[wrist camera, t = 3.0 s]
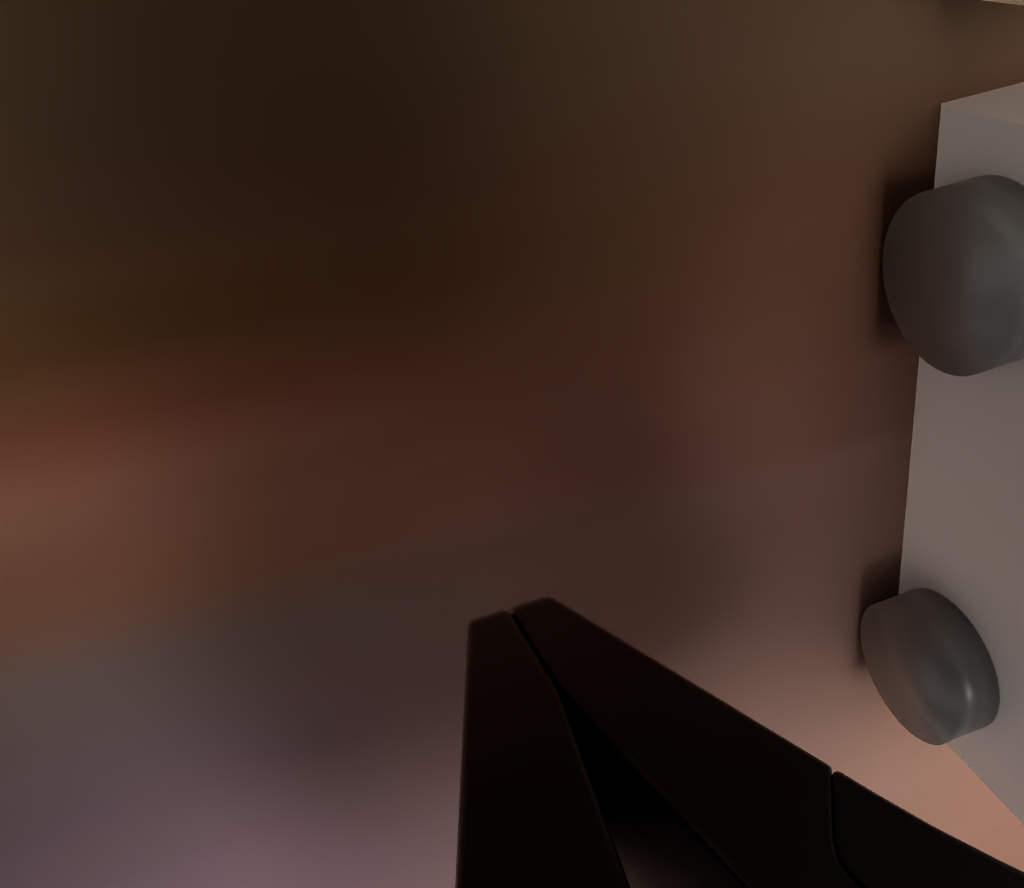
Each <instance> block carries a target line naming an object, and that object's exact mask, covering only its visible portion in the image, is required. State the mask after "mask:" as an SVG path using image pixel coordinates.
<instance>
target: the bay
mask: <svg viewBox="0 0 1024 888" xmlns="http://www.w3.org/2000/svg"><path fill="white" fill-rule="evenodd" d="M984 1H992V2H1000V3H1008V4H1016V5H1024V0H984Z"/></svg>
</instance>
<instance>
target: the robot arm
mask: <svg viewBox="0 0 1024 888" xmlns="http://www.w3.org/2000/svg"><path fill="white" fill-rule="evenodd" d="M455 888H1024V872H1022V871H1020V870H1018V869H1016V868H1014V867H1012V866H1010V865H1008V864H1006V863H1004V862H1002V861H1000V860H997V859H996V858H994V857H992V856H990V855H988V854H986V853H984V852H982V851H980V850H978V849H976V848H974V847H972V846H970V845H968V844H966V843H964V842H962V841H961V840H959V839H957V838H955V837H953V836H951V835H949V834H947V833H945V832H943V831H941V830H939V829H937V828H935V827H933V826H931V825H930V824H928V823H926V822H924V821H923V820H921V819H919V818H917V817H916V816H914V815H912V814H910V813H909V812H907V811H905V810H904V809H902V808H900V807H898V806H897V805H895V804H893V803H891V802H890V801H888V800H886V799H884V798H883V797H881V796H879V795H877V794H876V793H874V792H872V791H871V790H869V789H867V788H866V787H864V786H862V785H861V784H859V783H857V782H856V781H854V780H853V779H851V778H849V777H848V776H846V775H844V774H843V773H841V772H839V771H836V772H834V773H833V774H832V769H831V767H830V766H829V765H827V764H826V763H824V762H822V761H821V760H819V759H817V758H816V757H814V756H812V755H811V754H809V753H807V752H806V751H804V750H803V749H801V748H799V747H798V746H796V745H794V744H793V743H791V742H789V741H788V740H786V739H784V738H783V737H781V736H779V735H778V734H776V733H775V732H773V731H771V730H770V729H768V728H766V727H765V726H763V725H761V724H760V723H758V722H756V721H755V720H753V719H752V718H750V717H748V716H747V715H745V714H743V713H742V712H740V711H738V710H737V709H735V708H733V707H732V706H730V705H728V704H727V703H725V702H724V701H722V700H720V699H719V698H717V697H715V696H714V695H712V694H710V693H709V692H707V691H705V690H704V689H702V688H700V687H699V686H697V685H696V684H694V683H692V682H691V681H689V680H687V679H686V678H684V677H682V676H681V675H679V674H677V673H676V672H674V671H673V670H671V669H669V668H668V667H666V666H664V665H663V664H661V663H659V662H658V661H656V660H654V659H653V658H651V657H649V656H648V655H646V654H645V653H643V652H641V651H640V650H638V649H636V648H635V647H633V646H631V645H630V644H628V643H626V642H625V641H623V640H622V639H620V638H618V637H617V636H615V635H613V634H612V633H610V632H608V631H607V630H605V629H603V628H602V627H600V626H598V625H597V624H595V623H594V622H592V621H590V620H589V619H587V618H585V617H584V616H582V615H580V614H579V613H577V612H575V611H574V610H572V609H571V608H569V607H567V606H566V605H564V604H562V603H561V602H559V601H557V600H556V599H554V598H551V597H542V598H539V599H536V600H532V601H529V602H526V603H523V604H520V605H516V606H515V607H513V609H512V610H511V613H509V612H508V611H505V610H501V611H497V612H494V613H491V614H488V615H485V616H481V617H478V618H475V619H473V620H471V621H470V622H469V625H468V633H467V654H466V675H465V696H464V717H463V738H462V758H461V779H460V800H459V821H458V842H457V863H456V883H455Z"/></svg>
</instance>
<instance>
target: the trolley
mask: <svg viewBox="0 0 1024 888" xmlns="http://www.w3.org/2000/svg"><path fill="white" fill-rule="evenodd" d="M883 279H884V285H885V291H886V295H887V299H888V303H889V306H890V309H891V312H892V314H893V317H894V319H895V321H896V323H897V325H898V327H899V329H900V331H901V333H902V334H903V336H904V338H905V339H906V341H907V342H908V343H909V345H910V346H911V347H912V349H913V350H914V351H915V352H916V353H917V354H918V355H919V365H918V377H917V388H916V399H915V411H914V422H913V434H912V445H911V456H910V468H909V479H908V491H907V502H906V513H905V525H904V536H903V548H902V559H901V570H900V582H899V593H898V595H897V596H894V597H892V598H889V599H886V600H884V601H881V602H878V603H876V604H873V605H871V606H869V607H868V608H867V609H866V611H865V612H864V614H863V617H862V620H861V627H860V636H861V645H862V650H863V654H864V658H865V661H866V665H867V667H868V670H869V673H870V675H871V678H872V680H873V682H874V684H875V686H876V688H877V690H878V692H879V694H880V695H881V697H882V699H883V700H884V702H885V703H886V705H887V706H888V708H889V709H890V711H891V712H892V713H893V715H894V716H895V717H896V718H897V719H898V721H899V722H900V723H901V724H902V725H903V726H904V727H905V728H906V729H907V730H908V731H909V732H911V733H912V734H913V735H914V736H916V737H917V738H919V739H920V740H922V741H924V742H926V743H929V744H933V745H941V744H944V743H947V744H948V745H949V746H950V747H951V748H952V749H953V751H954V752H955V753H956V754H957V755H958V756H959V757H960V758H961V759H962V760H963V761H964V762H965V763H966V764H967V765H968V766H969V767H970V768H971V769H972V771H973V772H974V773H975V774H976V775H977V776H978V777H979V778H980V779H981V780H982V781H983V782H984V783H985V784H986V785H987V786H988V787H989V788H990V789H991V790H992V792H993V793H994V794H995V795H996V796H997V797H998V798H999V799H1000V800H1001V801H1002V802H1003V803H1004V804H1005V805H1006V806H1007V807H1008V808H1009V809H1010V810H1011V812H1012V813H1013V814H1014V815H1015V816H1016V817H1017V818H1018V819H1019V820H1020V821H1021V822H1022V823H1023V824H1024V82H1022V83H1018V84H1014V85H1010V86H1006V87H1003V88H999V89H995V90H991V91H987V92H983V93H979V94H976V95H972V96H968V97H964V98H960V99H956V100H952V101H949V102H945V103H941V114H940V126H939V137H938V148H937V160H936V171H935V183H934V189H931V190H927V191H924V192H921V193H918V194H916V195H914V196H912V197H911V198H909V199H908V200H907V201H906V202H904V203H903V204H902V206H901V207H900V208H899V209H898V210H897V212H896V214H895V215H894V217H893V219H892V221H891V223H890V225H889V228H888V231H887V234H886V238H885V243H884V250H883Z"/></svg>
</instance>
